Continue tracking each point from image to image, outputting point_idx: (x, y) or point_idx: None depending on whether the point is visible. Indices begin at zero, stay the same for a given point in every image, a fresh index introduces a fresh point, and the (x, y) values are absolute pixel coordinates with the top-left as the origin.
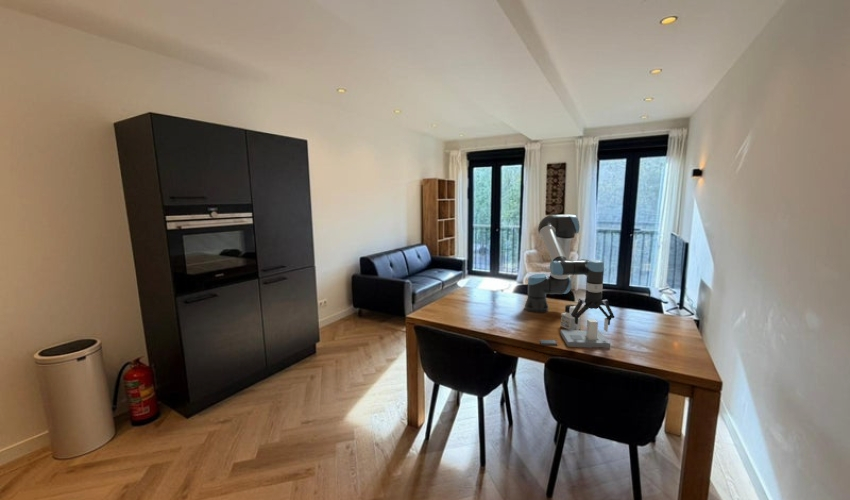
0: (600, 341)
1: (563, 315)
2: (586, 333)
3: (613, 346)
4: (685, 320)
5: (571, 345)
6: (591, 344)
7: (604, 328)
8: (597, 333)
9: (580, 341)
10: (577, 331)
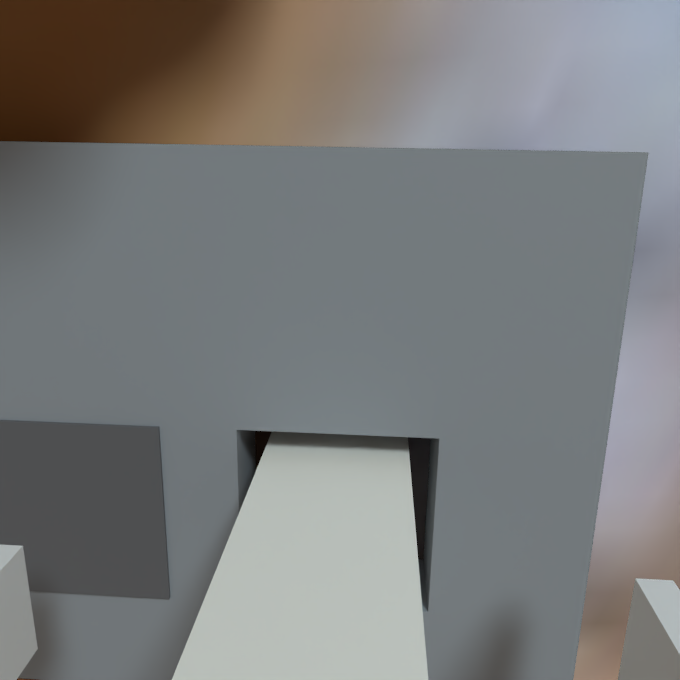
0: (436, 652)
1: None
2: (249, 496)
3: (630, 598)
4: None
5: None
6: None
7: (647, 632)
8: (539, 308)
9: (110, 656)
10: (151, 221)
